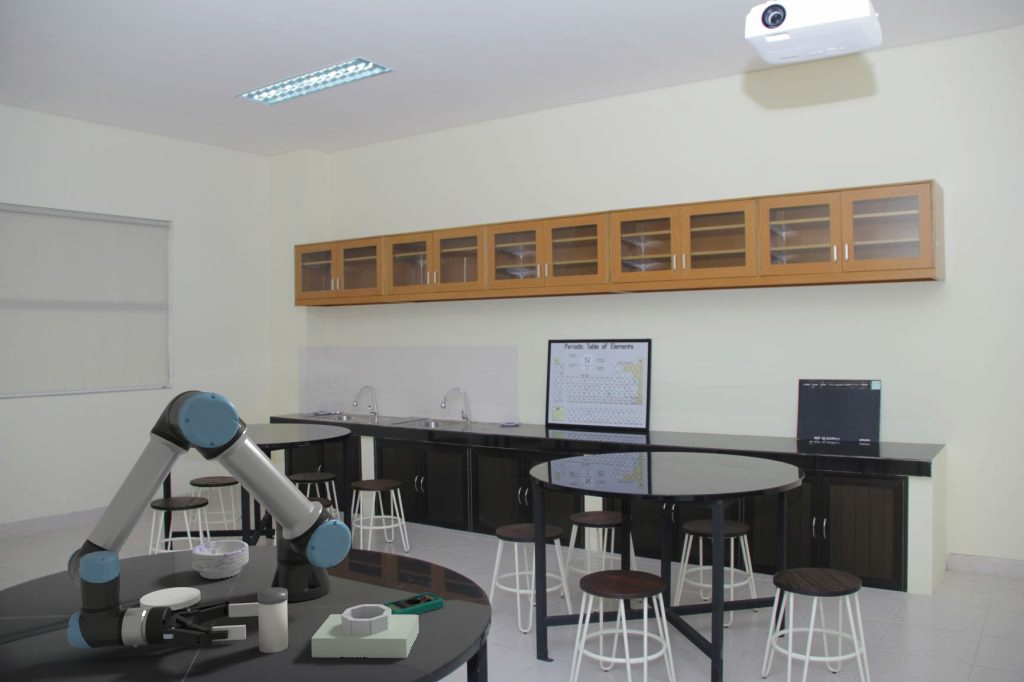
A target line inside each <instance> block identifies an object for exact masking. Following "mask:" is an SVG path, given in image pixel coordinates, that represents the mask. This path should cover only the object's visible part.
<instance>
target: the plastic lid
mask: <svg viewBox="0 0 1024 682" xmlns="http://www.w3.org/2000/svg"><path fill="white" fill-rule="evenodd" d="M201 598H202V597H201V591H200V589H198V588H195V587H188V586H187V587H186V586H185V587H183V586H181V587H179V586H178V587H169V588H163V589H159V590H155V591H151V592H149V593H147V594H145V595H143V596H142V597H140V599H139V608H142V607H149V608H150V609H151V608H153V607H165V606H168V607H170V608H171V609H172V612H173V611H177V610H182V608H189V607H193V606H194V605H196V604H198V603H199V602H200V601H201Z"/></svg>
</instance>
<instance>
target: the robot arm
mask: <svg viewBox="0 0 1024 682" xmlns="http://www.w3.org/2000/svg"><path fill="white" fill-rule="evenodd" d="M247 431H248V425H247V424H246V422H244V420H243V419H242V418H241V417H240V416H239V413H238V410H237V408H236V407H235V405H234V404H233V403H232V402H231V401H230V400H229V399H228V398H226V397H225V396H223V395H221V394H219V393H215V392H209V391H201V390H196V389H194V390H186V391H183V392H181V393H179V394H177V395H175V396H174V397H173V398H172V399H171V400H170V401H169V403H168V404H166V406H165V408H164V410H163V411H162V412H161V415H160V416H159V418H158V419H157V420H156V422H155V424H154V426H153V427H152V429H151V430H150V431H149V438H150V439H149V442H148V443H147V445H146V446H145V448H144V450H143V451H142V453H141V454H140V455H139V457H138V459H137V460H136V462H135V463H134V464H133V466H132V468H131V469H130V471H129V473H128V474H127V476H126V478H125V479H124V481H123V482H122V484H121V485H120V486H119V488H118V490H117V491H116V493H115V494H114V496H113V497H112V499H111V500H110V502H109V504H108V505H107V507H106V508H105V510H104V511H103V513H102V515H101V516H100V518H99V519H98V520H97V522H96V524H95V526H94V527H93V529H91V532H90V534H89V535H88V536H87V538H86V540H85V541H84V542H83V544H81V547H79V548H77V549H75V551H73V552H72V553H71V554H70V556H69V558H68V560H67V563H66V564H67V571H68V575H69V577H70V578H71V579H72V581H74V582H75V584H76V585H77V587H78V589H79V595H80V596H79V597H80V610H78V611H76V612H73V614H72V616H70V619H69V622H68V627H67V632H66V633H67V635H66V636H67V640H68V644H70V646H71V647H73V648H75V649H98V648H100V649H101V648H102V649H103V648H112V647H127V646H132V647H133V648H138V647H139V646H143V645H147V644H149V645H164V644H168V643H176V644H183V645H187V646H188V645H190V646H194V647H195V646H196V647H211V646H212V643H213V642H219V641H221V642H222V641H238V640H240V641H241V640H246V638H247V627H246V624H239V625H238V624H237V625H220V626H212V627H211V628H209V627H205V626H203V625H202V624H203V623H207V622H211V621H214V620H218V619H221V618H224V617H228V618H241V617H242V618H243V617H258V602H246V603H245V602H244V603H230V602H231V601H230V600H229V599H226V600H224V601H223V600H222V601H218V602H213V603H206V604H202V605H196V606H189V607H186V608H182V609H181V612H179V613H176V614H175V613H174V612H173V611H172V609H171V608H170V607H168V606H165V607H153V608H151V609H150V608H149V607H142V608H140V607H129V608H127V607H126V608H122V606H121V601H122V600H121V570H122V569H121V565H120V556H119V553H120V551H122V548H123V547H124V545H125V544H126V542H127V541H128V539H129V537H130V535H131V534H132V533H133V531H134V530H135V528H136V526H137V525H138V523H139V522H140V520H141V518H142V517H143V515H144V514H145V512H146V511H147V509H148V507H149V505H150V504H151V502H152V501H153V499H154V498H155V496H156V495H157V493H158V492H159V490H160V488H161V487H162V485H163V484H164V482H165V480H166V479H167V477H168V475H169V474H170V472H171V471H172V469H173V468H174V466H175V465H176V463H177V461H178V459H179V458H180V457H181V456H182V455H185V454H188V452H189V451H190V449H191V448H192V447H193V448H194V449H195V450H196V451H197V452H198V453H199V454H200V455H201V457H203V458H204V459H205V460H206V461H208V462H212V461H217V462H218V463H219V464H220V465H221V466H222V467H223V468H224V469H225V470H226V471H227V473H229V474H230V475H231V476H232V477H233V478H234V479H235V480H236V482H238V483H239V484H240V485H241V486H242V487H243V489H244V490H246V491H247V493H248V494H250V496H252V497H253V498H254V500H255V501H256V502H257V503H259V504H260V506H261V507H262V508H264V510H265V511H266V512H267V513H268V514H269V515H271V517H272V518H273V519H274V522H275V540H276V566H275V571H274V574H273V578H272V581H271V584H270V588H275V587H279V588H285V589H287V591H288V599H287V602H303V601H309V600H314V599H317V598H320V597H323V596H326V595H327V594H329V592H330V591H331V579H330V576H329V574H328V570H327V569H328V568H333V567H334V566H336V565H338V564H339V563H341V562H342V561H343V560H344V559H345V558H346V556H347V555H348V554H349V551H350V549H351V546H352V533H351V530H350V528H349V526H348V525H347V524H345V522H343V521H342V520H340V519H337V518H335V517H334V515H332V513H331V512H330V511H329V510H328V509H327V508H326V507H325V506H324V505H323V504H322V503H321V502H320V501H318V500H317V501H315V500H314V501H310V500H309V499H308V497H307V496H306V495H304V494H303V492H302V491H301V490H300V489H299V488H298V487H297V486H296V485H295V484H294V483H293V482H292V480H290V479H289V478H288V477H287V476H286V475H285V473H283V471H282V470H281V469H280V467H278V466H277V465H276V464H275V463H274V462H273V461H272V459H271V458H270V457H268V455H267V454H266V453H265V452H264V451H263V450H262V449H261V448H260V447H259V446H258V445H257V444H256V443H255V442H254V441H253V440H252V439H251V437H249V435H248V433H247Z"/></svg>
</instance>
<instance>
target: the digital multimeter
mask: <svg viewBox="0 0 1024 682" xmlns="http://www.w3.org/2000/svg"><path fill="white" fill-rule="evenodd" d="M381 605H384V606H386V607H388V608H390V609H391V615H415V614H419V613H422V612H426V613H428V612H427V611H429V612H431V611H430V610H433V611H435V610H434V609H437V610H439V609H438V608H440V609H442V608H441V607H443V606H444V599H443V598H441V597H440V596H438V595H437V594H435V593H432V592H428V591H425V592H421V593H418V594H416V595H412V596H411V595H410V596H408V597H405V598H401V599H397V600H393V601H390V602H384V603H381ZM443 608H444V607H443ZM422 614H423V613H422ZM419 615H420V614H419Z"/></svg>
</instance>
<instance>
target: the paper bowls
mask: <svg viewBox="0 0 1024 682" xmlns="http://www.w3.org/2000/svg"><path fill="white" fill-rule="evenodd" d="M249 553H250V550H249V544H248V543H247V542H245V541H243V540H238V539H236V540H235V539H225V540H223V539H222V540H215V541H207V542H204V543H201V544H198V545H196V546H194V547H193V548H192V549H191V551H190V557H191V562H190V563H191V568H192V570H194V571H197V572H199V575H200V576H201V577H202V578H203V579H206V578H207V579H208V580H222V579H221V578H223V579H228V578H231V576H232V577H234V576H236V575H238V574H239V573H240V572H241V570H242V568H243V566H246V565H247V564H248V563H249V557H250V556H249ZM227 577H228V578H227Z"/></svg>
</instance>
